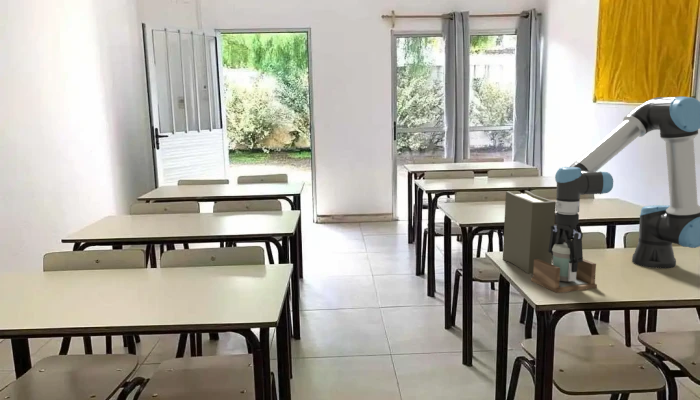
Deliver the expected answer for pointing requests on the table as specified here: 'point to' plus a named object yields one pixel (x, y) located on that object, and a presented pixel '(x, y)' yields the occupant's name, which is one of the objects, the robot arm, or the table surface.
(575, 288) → the holder
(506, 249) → the book
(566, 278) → the coffee cup
